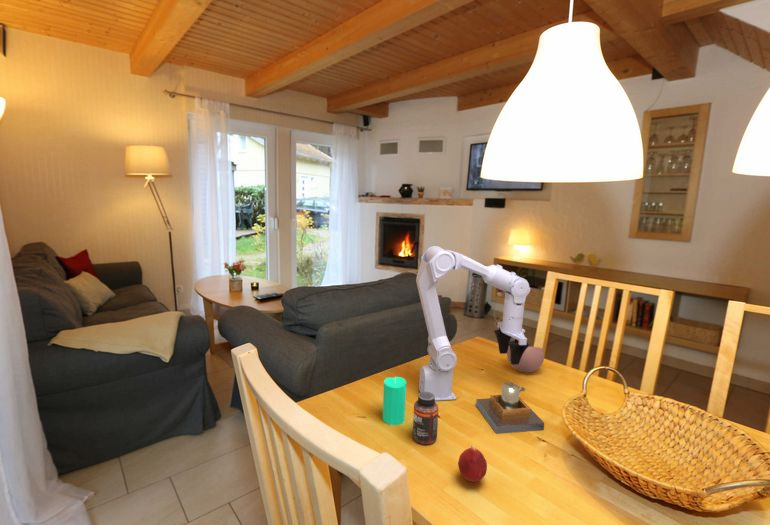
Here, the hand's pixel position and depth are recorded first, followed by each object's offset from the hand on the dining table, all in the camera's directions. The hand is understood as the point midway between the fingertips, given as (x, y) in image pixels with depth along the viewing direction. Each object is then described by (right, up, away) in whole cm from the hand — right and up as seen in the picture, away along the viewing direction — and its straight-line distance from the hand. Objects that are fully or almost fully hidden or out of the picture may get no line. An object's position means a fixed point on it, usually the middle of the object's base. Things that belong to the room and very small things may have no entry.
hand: (508, 358), depth 117 cm
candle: (-35, -12, -15) cm, 40 cm away
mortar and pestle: (+10, -8, +16) cm, 20 cm away
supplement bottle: (-28, -14, -23) cm, 39 cm away
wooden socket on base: (-4, -13, -13) cm, 19 cm away
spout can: (-4, -11, -13) cm, 17 cm away
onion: (-20, -17, -36) cm, 44 cm away
